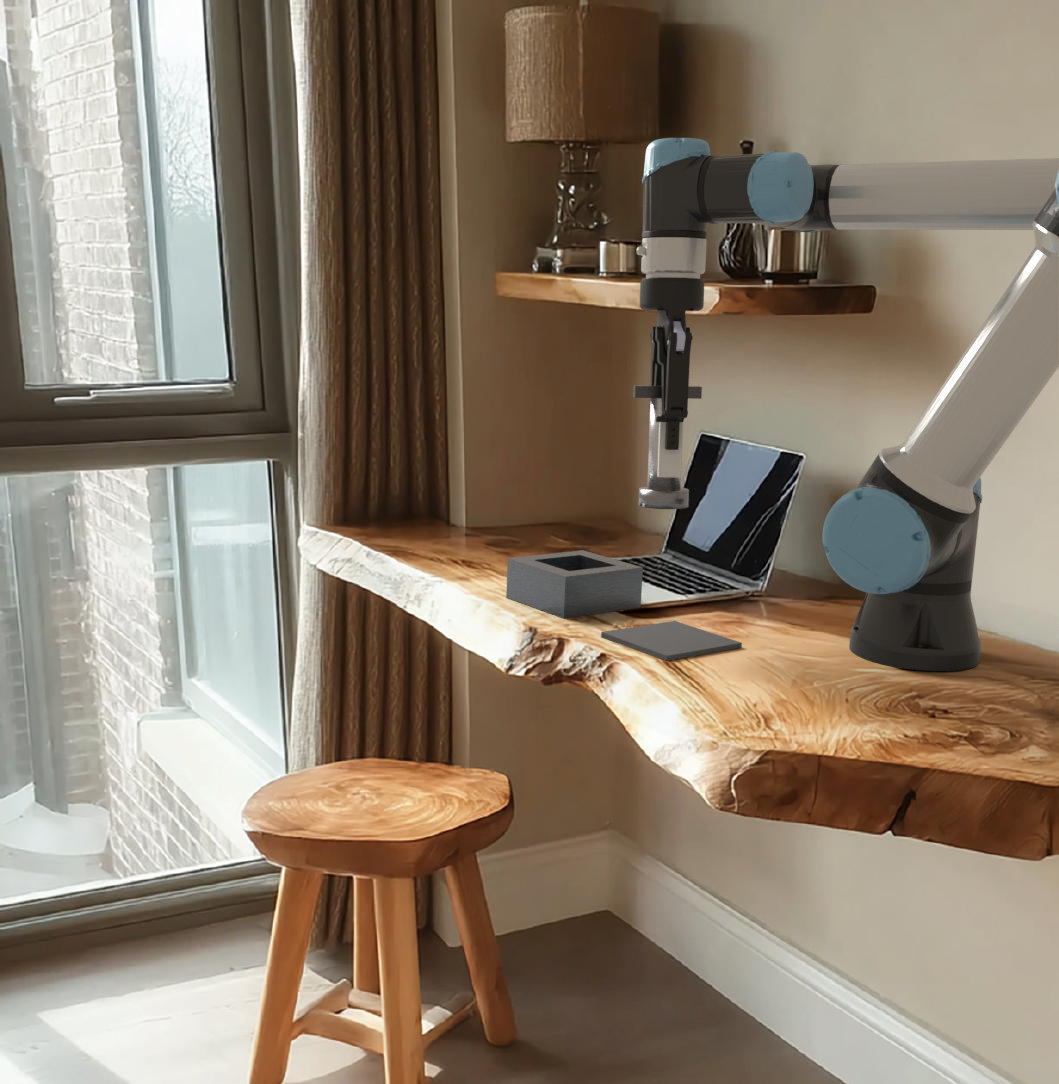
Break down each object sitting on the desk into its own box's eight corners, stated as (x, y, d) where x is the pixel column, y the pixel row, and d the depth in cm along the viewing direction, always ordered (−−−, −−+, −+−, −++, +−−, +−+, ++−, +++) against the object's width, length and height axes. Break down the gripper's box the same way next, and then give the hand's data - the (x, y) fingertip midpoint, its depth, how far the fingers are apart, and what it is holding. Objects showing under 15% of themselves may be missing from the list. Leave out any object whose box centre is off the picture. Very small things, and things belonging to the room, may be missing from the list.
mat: (741, 647, 156) (741, 642, 156) (666, 660, 149) (667, 655, 149) (674, 625, 165) (674, 620, 165) (601, 636, 158) (601, 632, 158)
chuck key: (690, 502, 160) (695, 385, 158) (701, 509, 154) (706, 387, 152) (626, 501, 159) (630, 384, 157) (634, 509, 154) (638, 387, 151)
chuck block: (640, 607, 174) (642, 567, 173) (563, 618, 167) (565, 576, 166) (581, 588, 184) (582, 550, 183) (506, 597, 177) (507, 558, 176)
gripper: (629, 277, 160) (624, 466, 164) (653, 273, 143) (646, 483, 147) (689, 279, 161) (682, 466, 165) (720, 275, 144) (711, 483, 148)
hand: (665, 474), depth 156 cm, fingers closed on chuck key, 4 cm apart
